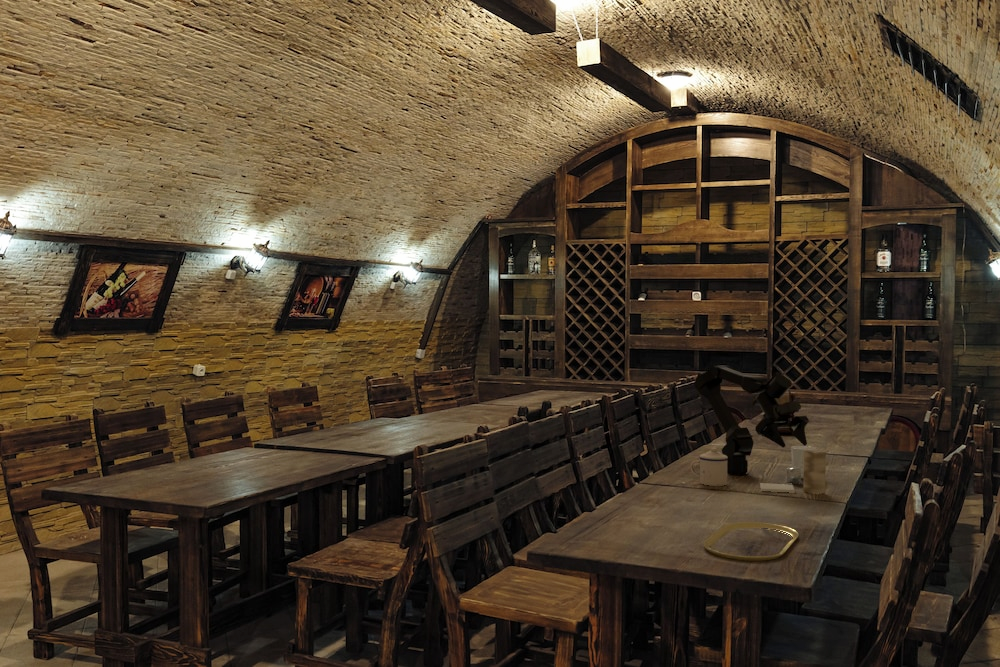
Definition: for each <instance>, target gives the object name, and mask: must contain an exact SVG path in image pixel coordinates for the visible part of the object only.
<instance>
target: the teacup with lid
mask: <svg viewBox="0 0 1000 667" xmlns="http://www.w3.org/2000/svg"><path fill="white" fill-rule="evenodd" d="M727 460H728V457H727V456H726V455H723V454H722V452H720V451H718V448H716V447H710V450H709V451H706V452H705V453H702V454H700V456H699V460H698V459H697V460H693V461H692V462H691V463H690V471H691V472H692V474H693V475H694V476H697V477H699V483H700V485H703V484H704V485H703V486H707V485H709V486H708V487H724V485H725V486H726V485H728V474H727ZM695 463H697V464H700V465H699V473H698V472H696V471H695V469H694V464H695Z"/></svg>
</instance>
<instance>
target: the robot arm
mask: <svg viewBox="0 0 1000 667" xmlns="http://www.w3.org/2000/svg"><path fill="white" fill-rule="evenodd" d="M724 381H727V382H729V383H732V384H735V385H738V386H739V387H741V389H742V390H743V391H744V392H746V393H747V394H749V395H757V394H758V395H757V396H754V397H753V401H752V406H760V408H761V410H762V412H763V415H762V416H763V418H761V419H760V420H759V422H758V423H757V424H756V425H755V432H756V434H757V436H759V435H761V436H762V437H765V438H766V439H768V440H770V441H772V442H773V443H774V444H777V445H778V446H779V447H781V448H786V443H785V441H784V439H783V437H782V435H781V433H780V432H778V428H787V427H789V430H790V431H792V432H791V435H792V436H793V437H795V439H797V441H799V442H800V443H801V444H802V446H807V445H808V440H807V437H806V436H807V435H806V431H805V430H806V427H807V425H808V424H809V422H810V419H809V418H808V417H807V415H794V416H795V417H794V418H793V420H792V421H789V418H791V417H792V415H791V414H793V413H794V414H795V413H798V412H800V410H801V408H802V406H801V403H800V402H799V401H798V400H797V399H794V400H793V402H791V401H790V402H786V403H783V404H779V403H778V401H777V399H776V398H778V399H780V398H781V397H782V396H783V395H784V394H785V393H788V392H789V390H790V388H791V387H792V382H791V380H790V378H787V377H786V376H784V375H783V374H781V372H774V373H773V374H772V376H771V378H770V379H769V380H768V378H767V377H766V376H763V375H762V376H761V375H752V374H751V375H750V374H746V373H743V372H740V371H738V370H734V369H732V368H730V367H727V366H725V365H715V366H712V368H710V369H709V370H707V371H706V372H703V373H701V374H700V375H698V376H697V377H696V378H695V380H694V382H693V383H694V388H695V390H696V392H698V395H700V396H701V397H702V398H705V400H707V402H708V403H709V404H710V407H711V408H712V410H713V412H714V414H715V415H716V417H717V419H718V421H719V423H720V425H721V426H722V428H723V430H724V432H725V442H726V444H724V446H723V447H722V448H721V453H722V454H723V455H726V456H727V457H728V460H727V475H735V476H736V475H737V476H740V475H741V476H746V475H747V473H748V469H749V468H748V467H749V466H748V465H749V464H748V462H749V461H748V459H747V456H748V457H749V456H751V454H752V451H753V449H754V448H753V447H754V439H753V437H754V436H753V435H752V434H751V432H750V430H749V429H748V427H746V426H745V427H741V426H740V425H739V423H738V422H737V420H736V418H735V417H734V415H733V413H732V411H731V410H730V408H729V406H728V405H727V402H726V401H725V399H724V398H723V395H722V394H721V393H722V392H721V391H722V384H723V383H724ZM791 419H792V418H791Z"/></svg>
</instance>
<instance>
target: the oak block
mask: <svg viewBox="0 0 1000 667" xmlns="http://www.w3.org/2000/svg"><path fill="white" fill-rule="evenodd" d="M826 459H827V452H826V451H825V450H819V449H816V450H804V478H803V490H802V492H803V491H804V492H803V493H806V492H808V493H807V494H810V493H812V494H811V495H814V494H816V495H819V494H818V493H824V494H826V466H827V465H826V464H827V462H826Z"/></svg>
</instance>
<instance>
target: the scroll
mask: <svg viewBox="0 0 1000 667" xmlns="http://www.w3.org/2000/svg"><path fill="white" fill-rule="evenodd" d="M795 398H796V394H792V392H791V390H790V389H788V391H787V392H786V393H785V394H784V395H783V396H782V397H781V398H780V399H778V398H776V399H777V401H778V403H779V404H783V403H786V402H793V400H795ZM794 414H795V413H793V414H791V415H792V417H791V418H789V421H792V420H793V418H794V417H795V416H796V415H794ZM778 432H779V433H786V434H787V433H792V431H790V430H789V427H787V428H778Z"/></svg>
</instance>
